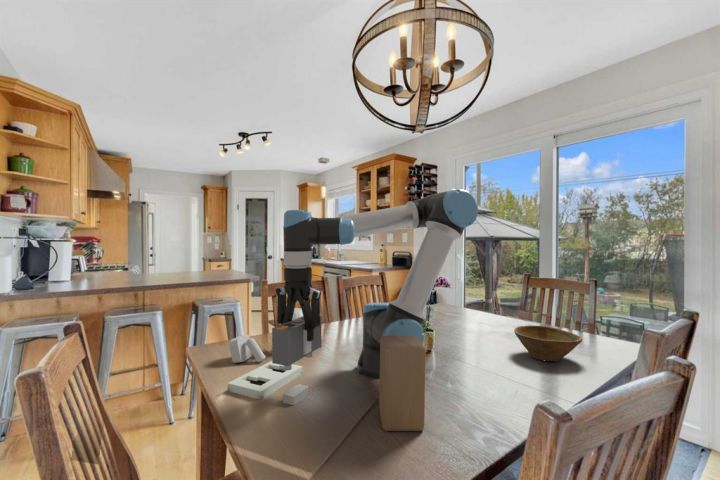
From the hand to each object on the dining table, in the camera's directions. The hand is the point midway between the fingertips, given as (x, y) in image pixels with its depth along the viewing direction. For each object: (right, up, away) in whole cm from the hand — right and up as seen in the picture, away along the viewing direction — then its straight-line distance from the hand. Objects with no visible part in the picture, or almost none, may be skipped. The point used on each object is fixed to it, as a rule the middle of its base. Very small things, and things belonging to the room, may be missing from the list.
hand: (298, 350), depth 93 cm
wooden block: (+27, -15, -9) cm, 32 cm away
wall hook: (-23, -13, +29) cm, 39 cm away
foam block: (-1, -14, 0) cm, 14 cm away
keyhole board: (-11, -13, +10) cm, 20 cm away
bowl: (+88, -15, +37) cm, 97 cm away
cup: (-10, -13, +40) cm, 44 cm away
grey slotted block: (0, -3, 0) cm, 3 cm away
